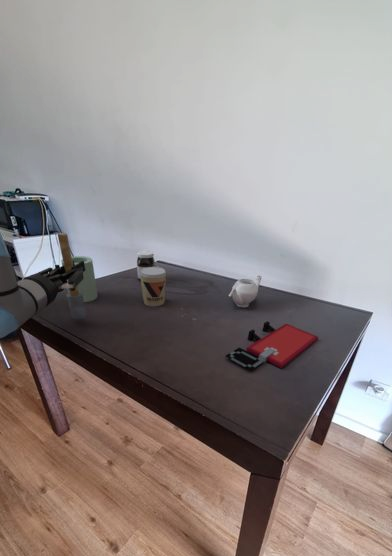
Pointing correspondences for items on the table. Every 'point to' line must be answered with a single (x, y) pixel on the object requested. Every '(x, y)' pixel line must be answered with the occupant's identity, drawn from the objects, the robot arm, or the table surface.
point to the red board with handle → (273, 346)
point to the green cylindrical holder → (86, 279)
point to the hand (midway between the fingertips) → (78, 265)
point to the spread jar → (145, 261)
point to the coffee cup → (153, 285)
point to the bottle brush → (74, 296)
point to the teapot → (245, 291)
